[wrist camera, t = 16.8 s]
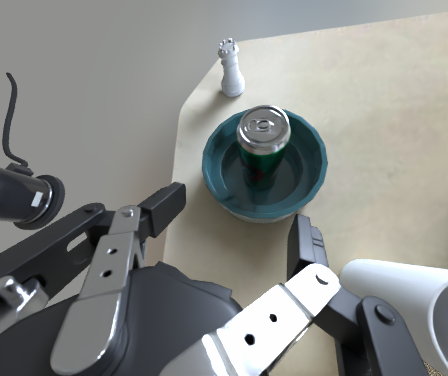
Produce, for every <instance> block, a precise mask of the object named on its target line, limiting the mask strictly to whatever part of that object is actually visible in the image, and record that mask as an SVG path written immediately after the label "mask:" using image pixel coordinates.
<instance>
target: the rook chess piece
mask: <svg viewBox="0 0 448 376" xmlns="http://www.w3.org/2000/svg"><path fill="white" fill-rule="evenodd" d="M228 41H229V42H226V39H224V40H223V44H222V43H220V44H219V51H218V55H219V57H220V58H221V59H222V61H221V64H222V65H223V69H224V76H223V80H222V83H221V84H222V91H223V93H224V94H225V95H227V96H228V97H236V96H238V95H240V94H241V93H242V92H243V90H244V88H245V83H244V78H243V76H242V75H241V73H240V72H239V69H238V65H237V62H238V57H237V56H236V55H237V53H238V51H239V47H238V46H237V45H236V42H235V40H233V42H232V38H229V39H228Z"/></svg>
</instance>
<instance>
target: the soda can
mask: <svg viewBox="0 0 448 376" xmlns="http://www.w3.org/2000/svg"><path fill="white" fill-rule="evenodd" d="M290 136H291V128H290V125H289V123H288V119H287V116H286V115H285V113H284V112H283V111H282V110H280V109H279V108H277V107H274V106H270V105H261V106H257V107H254V108H252V109H250V110H249V111H247V112H246V113H245V114H244V115H243V117H242V118H241V120H240V123H239V125H238V127H237V130H236V139H237V144H238V150H239V155H240V161H241V167H242V172H243V177H244V180H245V182H246V183H247V184H248V185H249V186H251V187H253V188H256V189H264V188H267V187H269V186H271V185H272V184H273V183H274V182H275V180H276V177H277V175H278V172H279V169H280V166H281V163H282V160H283V157H284V154H285V151H286V148H287V145H288V142H289V140H290Z"/></svg>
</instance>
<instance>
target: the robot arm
mask: <svg viewBox="0 0 448 376" xmlns="http://www.w3.org/2000/svg"><path fill="white" fill-rule="evenodd" d="M6 74H7V77H8V78H9V80H10V82H11V85H12V93H11V99H10V103H9V109H8V113H7V116H6V119H5V124H4V130H3V139H2V145H3V150H4V153H5V155H6V156H8V157H9V158H10V159H13V160H15V161H17V162H19V163H21V165H18V164H14V163H11V164H10V165H9V166H8V167H7V168H6V169H3V168H0V221H8V222H18V223H33V222H35V221H37V220H39V219H40V218H41V217H43V216H44V215H45V214H46V212H47V211H48V210H49V208H50V207H51V205H52V202H53V199H54V187H53V185H52V184H51V183H50V182H49V181H46V180H43V179H37V178H34V177H31V176H32V175H33V174H34V173H33V172H32V171H31V169H30V168H27V166H28V163H27V162H26V161H25V160H23V159H20V158H18V157H16V156H14V155H13V154H11V152H10V149H9V131H10V125H11V120H12V117H13V113H14V108H15V103H16V98H17V85H16V82H15V80H14V78H13V77H12V75H11V74H10V73H6ZM185 205H186V187H185V185H184V184H181V183H177V182H174V183H172V184H171V185H170V186H168V187H164V188H162V189H160V190H158V191H157V192H156V193H154V194H153V195H152V196H150V197H148V198H147V199H146V200H144V201H143V202H141V203H140V204H139V205H137V206H134V205H129V206H125V207H122V208H120V209H118V210H117V211H106V209H105V206H104V205H103V204H101V203H91V204H87V205H84V206H82V207H81V208H79V209H77V210H75V211H73V212H72V213H70V214H68V215H66V216H65V217H63V218H61V219H59V220H58V221H56V222H54V223H52V224H51V225H49V226H47V227H45V228H44V229H42V230H40V231H38V232H37V233H35V234H33V235H31V236H30V237H28V238H26V239H25V240H23V241H21V242H19V243H17V244H16V245H14V246H12V247H10V248H9V249H7V250H5V251H3V252H2V253H0V376H269V373H270V372H271V371H272V370H273V369H274V368H275V367H276V366H277V364H278V363H279V362H280V361H281V360H282V359H283V358H284V356H285V355H286V354H287V353H288V351H289V350H290V349H291V348H292V347H293V346H294V344H295V343H296V342H297V341H298V340H299V339H300V338H301V337H302V336H303V334H304V333H305V332H306V331H307V330H308V329H309V328H310V327H311V325H312V324H313V323H315V324H316V325H317V326H319V327H320V328H321V329H323V330H324V331H325V332H327V333H328V334H329V335H331V336H332V337H333V338H334V339H335V347H336V355H337V363H338V371H339V376H429V374H428V371H427V369H426V367H425V365H424V363H423V360H422V358H421V356H420V354H419V351H418V349H417V347H416V345H415V343H414V340H413V338H412V336H411V334H410V331H409V329H408V327H407V325H406V323H405V321H404V319H403V318H402V316H401V315H400V314H399V312H398V311H397V310H396V309H395V308H394V307H393V306H391V305H390V304H389V303H387V302H386V301H384V300H383V299H381V298H378V297H376V296H372V295H368V296H365V297H364V298H363V299H362V298H360V297H358V296H357V295H355V294H353V293H351V292H350V291H348V290H347V289H345V288H344V287H342V286H341V285H340V283H339V280H338V279H337V277H336V276H335V274H334V273H333V272H332V271H331V270H329V265H328V261H327V256H326V252H325V248H324V243H323V238H322V234H321V233H320V231H319V230H318V229H317V227H313V226H311V224H310V218H309V217H306V216H303V215H299V214H296V216H295V218H294V221H293V224H292V226H291V229H290V231H289V235H288V241H287V283H286V284H284V285H283V284H282V283H280V284H278V285H276V286H275V287H274V288H272V289H271V290H270V291H268V292H267V293H266V294H264V295H263V296H262V297H260V298H259V299H258V300H256V301H255V302H254V303H252V304H251V305H250V306H249V307H247V308H246V309H245V310H243V309H242V308H241V306H240V305H239V304H238V303H237V302H236V301H235V300H234V299H233V298H231V293H232V290H230V289H228V288H225V287H223V286H220V285H218V284H215V283H213V282H205V281H197V280H191V279H189V278H188V277H187V276H185V275H184V274H183V273H182V272H180V271H179V270H178V269H177V268H175V267H173V266H170V265H168V264H165V263H163V262H160V261H159V262H158V263H157V264H156V265H155V267H154V266H148V267H145V259H146V246H147V240H146V238H147V237H148V236H151V237H153V238H156V237H157V236H158V235H159V234H160V233H161V232H162V231H163V230H164V229H165V228H166V227H167V226H168V225H169V224H170V223H171V222H172V221H173V219H174V218H175V217H176V216H177V215H178V214H179V213H180V212H181V211H182V210H183V209H184V207H185ZM83 232H85V233H86V235H87V238H86V239H85V240H84V241H82V242H81V243H80V244H78V245H77V246H76V247H74V248H73V249H72V250H70V251H69V252H68V251H67V246H68V244H69V243H70V242H71V241H72V240H74V239H75V238H76V237H78V236H79V235H81V234H82V233H83ZM88 265H90V267H89V270H88V272H87V275H86V278H85V280H84V283H83V286H82V288H81V291H80V293H79V294H77V295H74V296H72V297H70V298H68V299H65V300H63V301H61V302H58V303H56V304H54V305H52V306H49V307H47V308H45V306H46V305H47V303H48V301H50V300H51V299H52V298H53V297H54V296H55V295H56V294H57V293H58V292H60V291H61V290H62V289H63V288H64V287H65V286H66V285H67V284H68V283H70V282H71V281H72V280H73V279H74V278H75V277H76V276H77V275H78V274H80V273H81V272H82V271H83V270H84V269H85V268H86V267H87V266H88ZM44 308H45V309H44Z"/></svg>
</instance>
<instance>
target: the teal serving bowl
mask: <svg viewBox="0 0 448 376" xmlns="http://www.w3.org/2000/svg"><path fill="white" fill-rule="evenodd" d="M249 110H250V109H248V110H245V111H243V112H240V113H237V114H235V115H233V116H231V117H230V118H228V119H227V120H226V121H224V122H223V123H221V124H220V125H219V126H218V127H217V129H216V130H215V131H214V132H213V133H212V135H211V136H210V137H209V139H208V141H207V144H206V146H205V149H204V151H203V159H202V172H203V175H204V179H205V183H206V185H207V187H208V189H209V190H210V192H211V193H212V194H213V196H214V197H215V199H216V200H217V201H218V202H219V203H220V204H221V205H222V207H223V208H224V209H226V210H227V211H228V212H230V213H231V214H232V215H234V216H235V217H237V218H239V219H242V220H245V221H248V222H251V223H272V222H276V221H279V220H282V219H285V218H287V217H289V216H290V215H292V214H293V213H294V212H296V211H297V210H299V209H300V208H301V207H303V206H304V205H305V204H307V203H308V202H309V201H311V200H312V199H313V198H314V196H315V195H316V193H317V192H318V190H319V189H320V187H321V186H322V184H323V183H324V179H325V174H326V170H327V165H328V161H327V155H326V149H325V144H324V143H323V141H322V139H321V137H320V136H319V134H318V132H317V131H316V129H315V128H314V127H313V126H312V125H310V124H309V123H308V122H307V121H306V120H305V119H303V118H302V117H301V116H298V115H296V114H294V113H292V112H289V111H287V110H284V109H280V110H282V111H283V112H284V113H285V115H286V116H287V119H288V123H289V125H290V128H291V136H290V140H289V142H288V145H287V148H286V151H285V154H284V157H283V160H282V163H281V166H280V169H279V172H278V175H277V177H276V180H275V182H274V183H273V184H272V185H271V186H269V187H267V188H264V189H256V188H253V187H251V186H249V185H248V184H247V183H246V182H245V180H244V177H243V172H242V167H241V161H240V155H239V150H238V144H237V139H236V130H237V127H238V125H239V123H240V120H241V118H242V117H243V115H244V114H245V113H246V112H247V111H249Z"/></svg>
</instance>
